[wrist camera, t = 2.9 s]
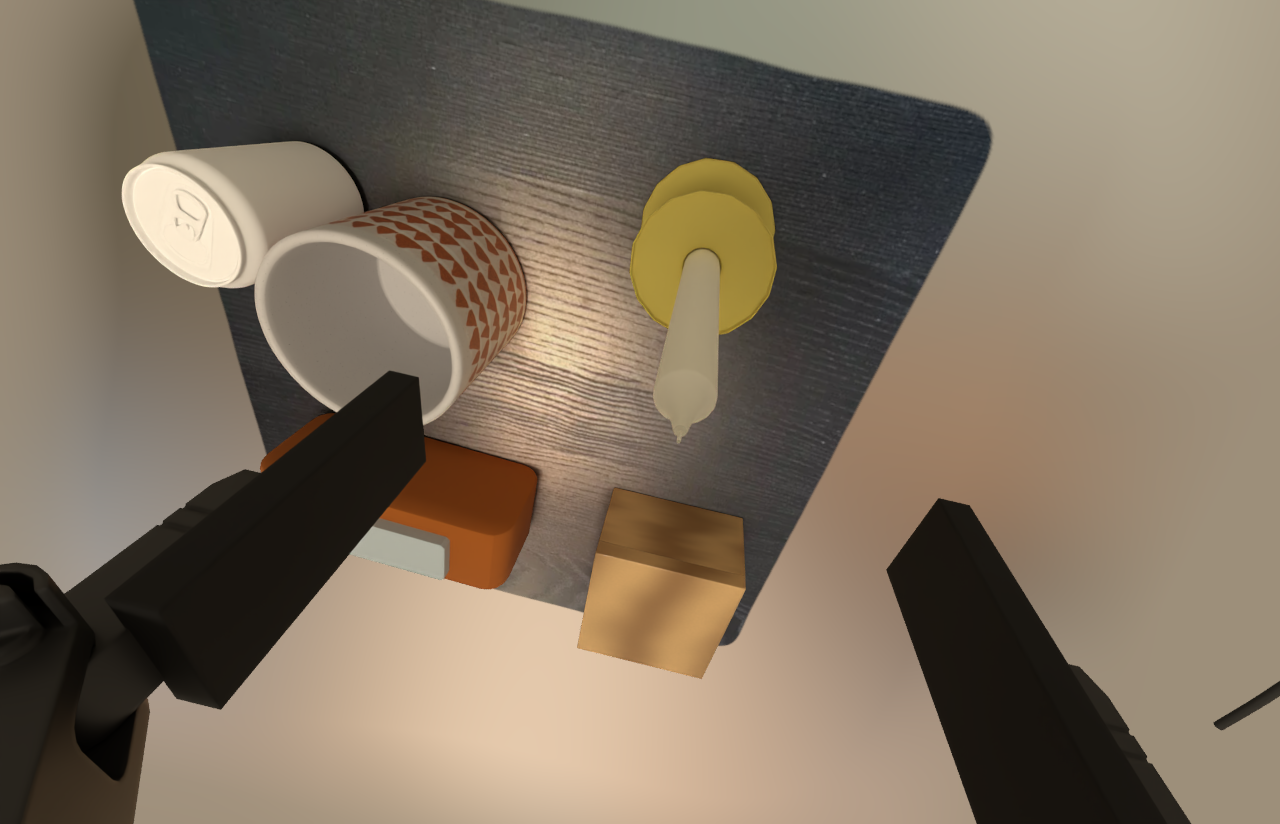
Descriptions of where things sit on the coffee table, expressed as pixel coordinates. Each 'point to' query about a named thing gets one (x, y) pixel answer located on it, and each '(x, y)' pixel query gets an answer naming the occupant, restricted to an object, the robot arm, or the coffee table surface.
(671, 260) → the candle
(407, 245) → the planter
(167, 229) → the beverage can
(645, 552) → the lidded tan carton
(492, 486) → the alarm clock
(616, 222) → the coffee table surface
